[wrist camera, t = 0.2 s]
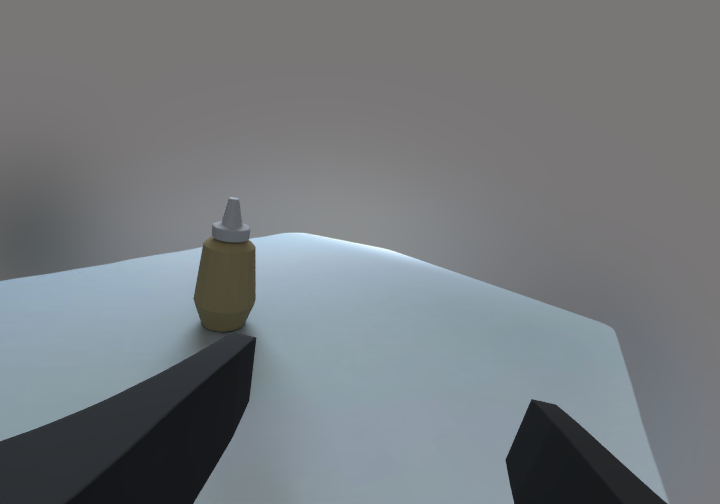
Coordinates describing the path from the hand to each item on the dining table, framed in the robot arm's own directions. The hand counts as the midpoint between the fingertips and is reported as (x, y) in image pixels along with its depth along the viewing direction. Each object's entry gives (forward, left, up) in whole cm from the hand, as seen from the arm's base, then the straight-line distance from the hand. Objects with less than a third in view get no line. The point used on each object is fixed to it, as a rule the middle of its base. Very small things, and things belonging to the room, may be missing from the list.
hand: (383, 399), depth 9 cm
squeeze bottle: (+36, +20, -22) cm, 46 cm away
